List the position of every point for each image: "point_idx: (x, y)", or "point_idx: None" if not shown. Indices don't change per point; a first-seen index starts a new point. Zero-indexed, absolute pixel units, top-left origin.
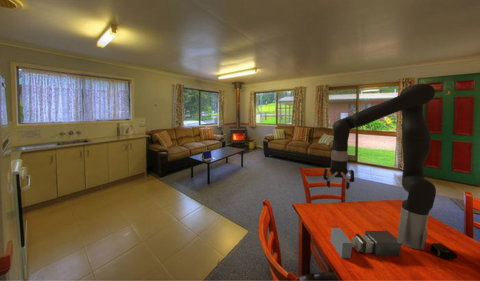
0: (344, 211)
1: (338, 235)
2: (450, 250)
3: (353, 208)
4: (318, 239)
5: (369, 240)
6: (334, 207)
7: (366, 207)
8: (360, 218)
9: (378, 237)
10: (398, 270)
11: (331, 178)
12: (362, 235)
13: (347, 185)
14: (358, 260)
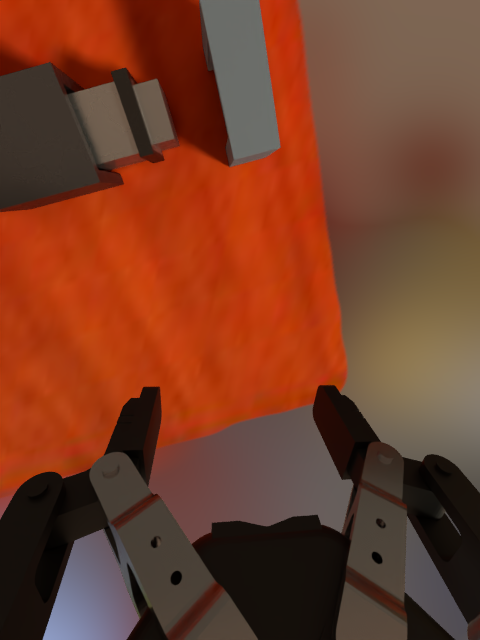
0: (161, 392)
1: (261, 69)
2: None
3: None
4: (315, 159)
5: (92, 115)
6: (196, 409)
7: (71, 440)
8: (106, 361)
9: (37, 126)
10: (4, 4)
11: (365, 485)
12: (121, 156)
13: (140, 419)
14: (171, 37)
